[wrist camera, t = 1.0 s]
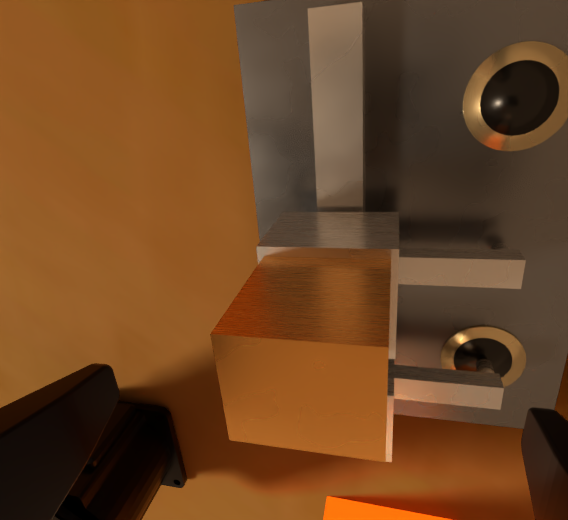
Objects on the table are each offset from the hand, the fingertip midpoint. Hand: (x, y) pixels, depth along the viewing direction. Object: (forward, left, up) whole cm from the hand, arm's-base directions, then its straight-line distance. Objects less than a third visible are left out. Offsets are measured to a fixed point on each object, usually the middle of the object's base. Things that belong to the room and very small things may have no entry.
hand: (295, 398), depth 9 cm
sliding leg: (0, -2, -8) cm, 8 cm away
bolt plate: (0, -3, -10) cm, 10 cm away
